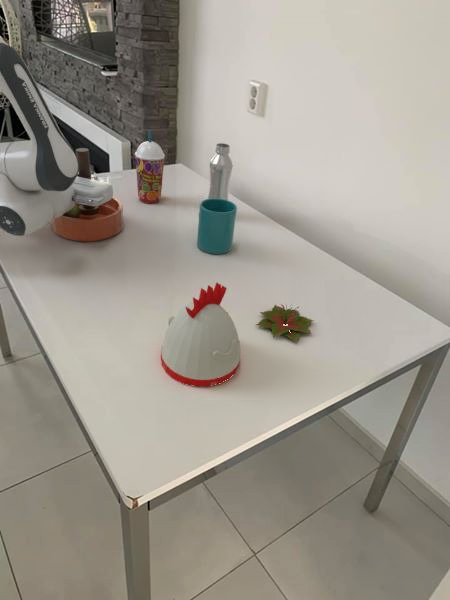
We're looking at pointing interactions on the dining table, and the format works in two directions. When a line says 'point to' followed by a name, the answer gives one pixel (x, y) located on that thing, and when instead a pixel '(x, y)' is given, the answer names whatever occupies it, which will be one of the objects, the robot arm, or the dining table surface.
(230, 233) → the cup
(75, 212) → the green ball
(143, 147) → the smoothie
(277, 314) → the green leafy plant
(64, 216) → the bowl
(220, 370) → the kitchen timer
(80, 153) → the masher
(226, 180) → the silver bottle
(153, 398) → the dining table surface
